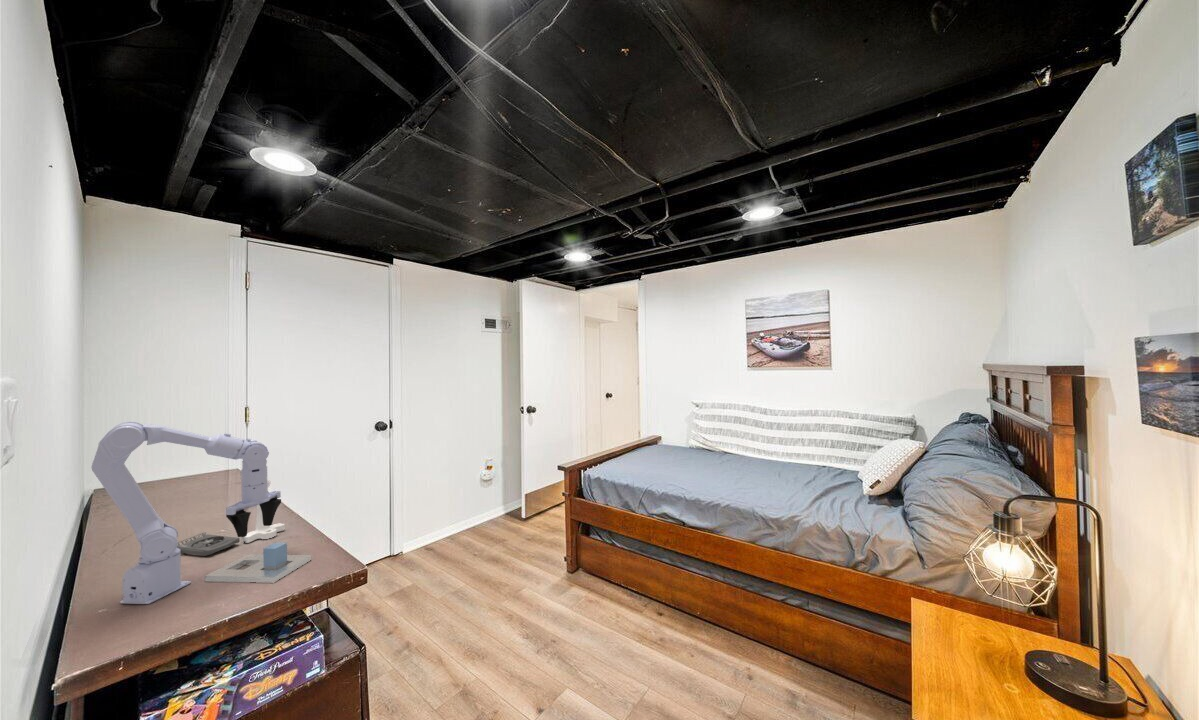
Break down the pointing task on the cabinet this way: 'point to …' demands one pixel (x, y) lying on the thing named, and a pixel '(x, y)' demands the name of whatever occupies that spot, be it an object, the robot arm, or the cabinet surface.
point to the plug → (275, 556)
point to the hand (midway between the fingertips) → (255, 530)
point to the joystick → (263, 527)
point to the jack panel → (255, 570)
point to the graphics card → (206, 544)
